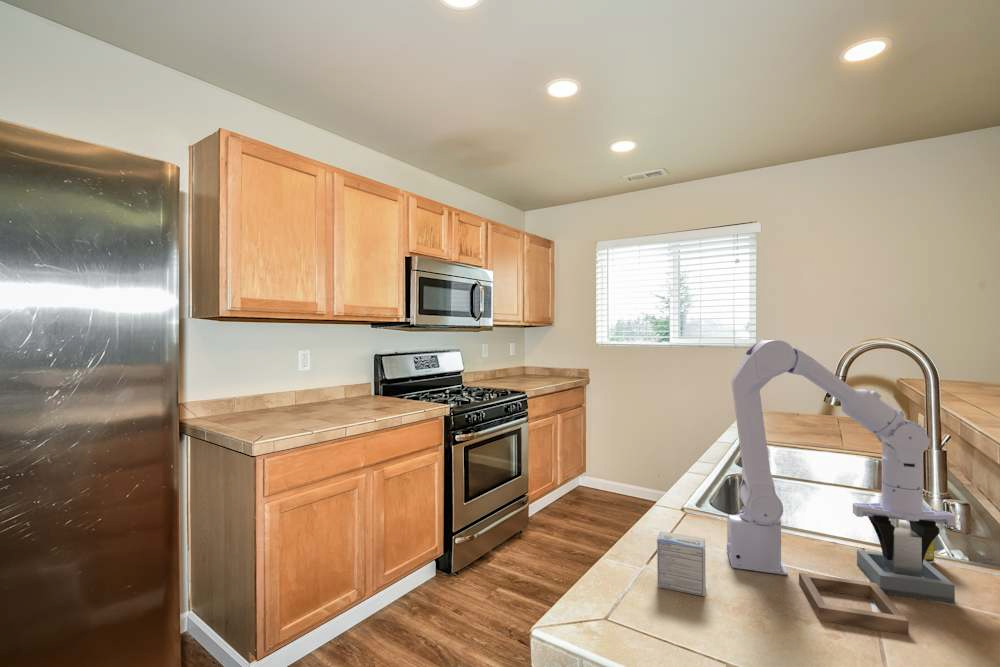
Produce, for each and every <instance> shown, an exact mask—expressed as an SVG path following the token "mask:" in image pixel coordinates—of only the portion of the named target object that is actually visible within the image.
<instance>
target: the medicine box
mask: <svg viewBox="0 0 1000 667" xmlns="http://www.w3.org/2000/svg"><path fill="white" fill-rule="evenodd" d="M656 546H657V548H656V556H657V557H656V558H657V559H656V561H657V562H656V564H657V566H656V568H657V570H656V571H657V573H656V574H657V575H656V576H657V578H656V579H657V580H656V583H657V584H656V585H657V588H660V589H665V590H671V591H676V592H681V593H686V594H692V595H695V596H701V597H706V583H707V581H706V539H705V538H704V537H700V536H694V535H687V534H682V533H675V532H668V531H663V530H662V531H659V534H658V537H657V539H656Z"/></svg>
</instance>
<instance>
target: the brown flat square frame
mask: <svg viewBox="0 0 1000 667" xmlns="http://www.w3.org/2000/svg"><path fill="white" fill-rule="evenodd" d="M798 584H799V586H800V588H801V591H802V592H803V593H804V595H805V597H806V599H807V601H808V603H809V604H810V606H811V608H812V610H813V611H814V613H815V615H816V617H817V619H818V620H819V621H824V622H830V623H836V624H841V625H848V626H853V627H854V626H855V627H860V628H867V629H870V630H871V629H874V630H877V631H884V632H890V633H897V634H904V635H910V632H909V631H910V630H909V628H910V626H909V624H910V623H909V620H908V618H906V617H905V615H904V614H903V613H902V612H901V610H900V609H899V608H898V607H897V606H896V604H894V603H893V601H892V600H891V599H890V598H889V597H888V595H887V593H884V592H883V591H882V590H881V589H880V587H879V586H878V585H877V584H876V583H872V582H871V581H863V580H856V579H849V578H843V577H842V578H841V577H834V576H829V575H828V576H827V575H820V574H815V573H814V574H811V573H807V572H806V573H805V572H798ZM819 591H825V592H832V593H840V594H846V595H854V596H859V597H865V598H870V599H871V600H872V602H873V603H874V604H875V606H876V607H877V608H878V609H879V611H880V612H878V611H871V610H865V609H859V608H851V607H845V606H839V605H832V604H827V603H826V602H825V600H824V599H823V597H822V596H821V594H820V592H819Z"/></svg>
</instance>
